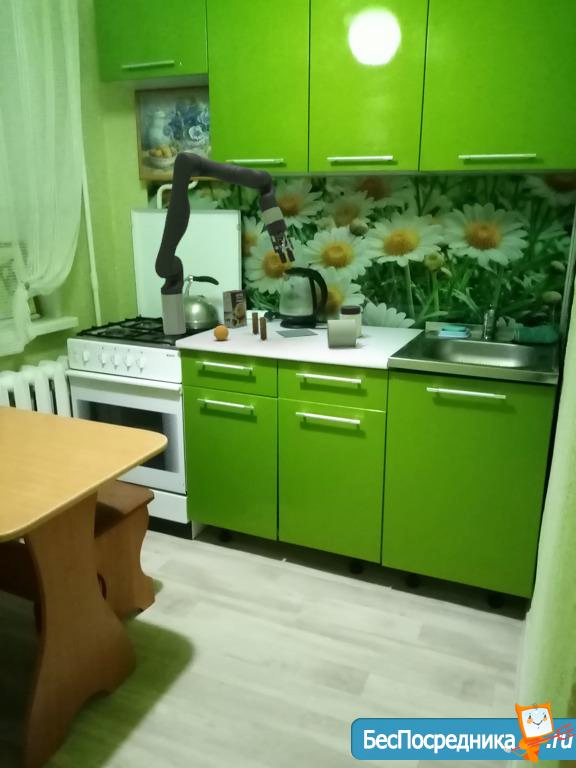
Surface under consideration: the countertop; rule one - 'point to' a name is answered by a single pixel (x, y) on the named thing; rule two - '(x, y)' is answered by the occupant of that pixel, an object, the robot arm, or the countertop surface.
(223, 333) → the ball
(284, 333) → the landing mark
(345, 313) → the jar
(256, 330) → the post
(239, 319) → the coffee box
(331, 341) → the toilet paper
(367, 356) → the countertop surface
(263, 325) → the post
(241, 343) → the countertop surface
